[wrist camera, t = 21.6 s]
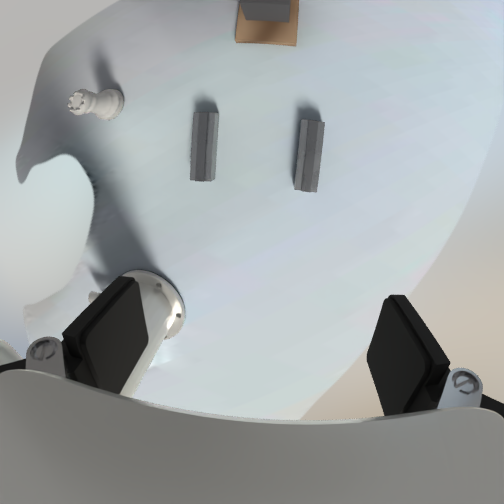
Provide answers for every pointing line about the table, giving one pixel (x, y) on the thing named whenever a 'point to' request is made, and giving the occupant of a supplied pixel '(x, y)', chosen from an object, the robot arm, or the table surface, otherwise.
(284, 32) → the pad
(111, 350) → the robot arm
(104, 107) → the rook chess piece
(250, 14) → the dark gray cube
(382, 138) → the table surface
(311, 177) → the metal bars
